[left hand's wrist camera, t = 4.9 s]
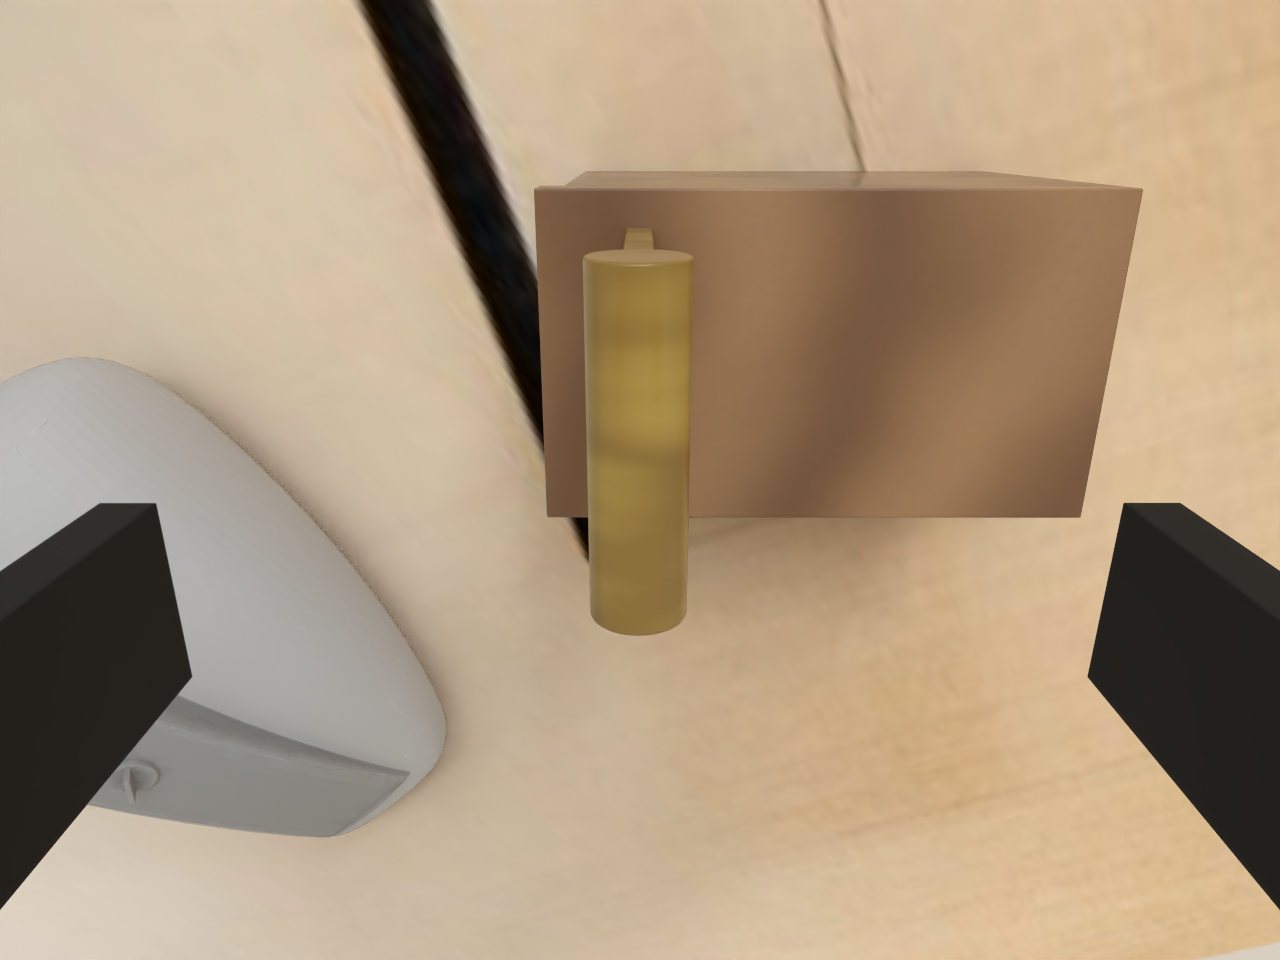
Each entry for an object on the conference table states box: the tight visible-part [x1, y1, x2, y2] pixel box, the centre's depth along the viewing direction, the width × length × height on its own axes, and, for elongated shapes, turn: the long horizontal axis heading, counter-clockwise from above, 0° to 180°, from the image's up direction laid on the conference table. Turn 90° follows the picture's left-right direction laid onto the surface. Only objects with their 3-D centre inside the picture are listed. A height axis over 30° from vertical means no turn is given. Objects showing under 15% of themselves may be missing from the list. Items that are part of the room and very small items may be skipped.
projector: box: [0, 357, 446, 837], centre depth 34 cm, size 22×23×15 cm
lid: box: [534, 186, 1143, 636], centre depth 22 cm, size 16×9×10 cm, turn 90°
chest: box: [565, 172, 1113, 186], centre depth 31 cm, size 15×9×10 cm, turn 90°
